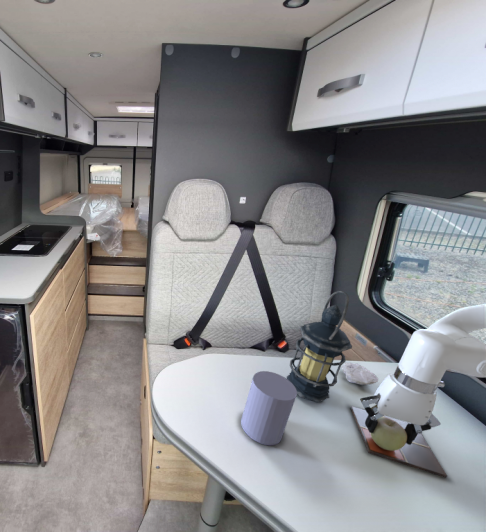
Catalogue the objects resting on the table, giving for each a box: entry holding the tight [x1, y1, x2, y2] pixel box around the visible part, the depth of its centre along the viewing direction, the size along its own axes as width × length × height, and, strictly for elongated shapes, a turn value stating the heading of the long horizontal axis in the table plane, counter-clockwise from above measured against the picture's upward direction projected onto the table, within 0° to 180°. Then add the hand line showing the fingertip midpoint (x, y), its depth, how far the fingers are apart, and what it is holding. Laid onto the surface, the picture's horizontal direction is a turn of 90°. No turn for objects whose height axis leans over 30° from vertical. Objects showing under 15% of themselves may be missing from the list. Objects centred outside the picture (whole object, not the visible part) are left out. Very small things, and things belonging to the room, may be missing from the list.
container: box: [240, 370, 298, 446], centre depth 80 cm, size 10×10×15 cm
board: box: [350, 405, 448, 479], centre depth 83 cm, size 16×16×1 cm
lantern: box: [286, 290, 353, 403], centre depth 92 cm, size 14×13×35 cm
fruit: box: [371, 416, 407, 451], centre depth 79 cm, size 8×7×8 cm
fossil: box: [341, 362, 379, 386], centre depth 105 cm, size 9×6×10 cm
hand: (387, 433), depth 79 cm, fingers closed on fruit, 7 cm apart
